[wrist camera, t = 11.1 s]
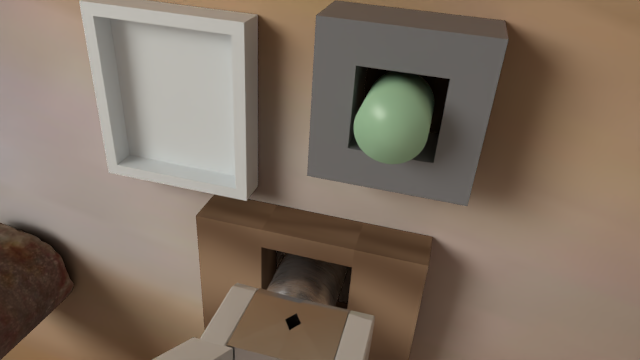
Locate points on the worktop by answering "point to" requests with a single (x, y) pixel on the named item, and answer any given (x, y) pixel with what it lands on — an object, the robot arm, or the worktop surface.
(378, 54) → the grey square holed block
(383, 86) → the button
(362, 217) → the worktop surface
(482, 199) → the worktop surface
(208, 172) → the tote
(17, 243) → the brown rounded piece
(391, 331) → the wooden holder frame
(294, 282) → the cylinder
